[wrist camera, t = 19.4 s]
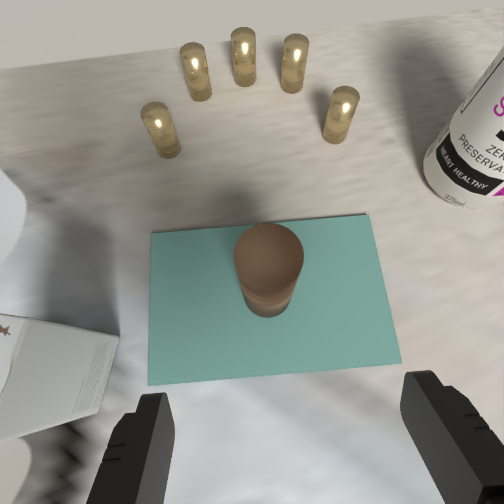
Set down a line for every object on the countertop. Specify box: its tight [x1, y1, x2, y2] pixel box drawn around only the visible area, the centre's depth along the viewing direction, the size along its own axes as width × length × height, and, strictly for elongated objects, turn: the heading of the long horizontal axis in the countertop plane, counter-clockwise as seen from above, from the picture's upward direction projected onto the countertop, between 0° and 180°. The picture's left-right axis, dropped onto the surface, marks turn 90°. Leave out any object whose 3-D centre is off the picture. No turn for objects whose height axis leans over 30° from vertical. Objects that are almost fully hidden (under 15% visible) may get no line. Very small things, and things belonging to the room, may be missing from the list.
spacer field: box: [141, 27, 360, 158], centre depth 33 cm, size 19×11×5 cm, turn 95°
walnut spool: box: [233, 223, 304, 318], centre depth 24 cm, size 4×4×10 cm
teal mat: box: [148, 215, 402, 386], centre depth 29 cm, size 20×13×1 cm, turn 95°
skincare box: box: [0, 314, 120, 443], centre depth 21 cm, size 6×4×12 cm
